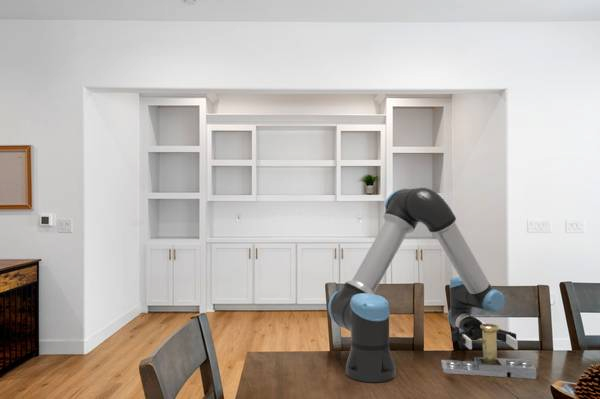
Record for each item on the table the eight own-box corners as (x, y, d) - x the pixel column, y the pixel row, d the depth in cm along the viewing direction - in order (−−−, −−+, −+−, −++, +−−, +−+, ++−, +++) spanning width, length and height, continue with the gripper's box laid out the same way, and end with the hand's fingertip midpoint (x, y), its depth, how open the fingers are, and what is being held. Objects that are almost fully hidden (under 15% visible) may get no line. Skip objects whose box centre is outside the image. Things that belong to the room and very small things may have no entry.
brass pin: (482, 373, 138) (481, 327, 138) (479, 368, 143) (478, 323, 143) (501, 375, 137) (500, 328, 137) (497, 369, 142) (496, 324, 142)
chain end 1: (443, 373, 139) (443, 365, 139) (441, 364, 147) (441, 357, 147) (506, 377, 135) (506, 369, 135) (500, 368, 143) (500, 360, 143)
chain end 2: (478, 375, 137) (478, 363, 137) (474, 366, 144) (474, 355, 145) (536, 379, 133) (536, 366, 133) (528, 369, 141) (528, 358, 141)
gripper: (506, 337, 158) (535, 357, 136) (433, 337, 159) (451, 357, 137) (506, 316, 158) (535, 332, 137) (433, 315, 159) (451, 332, 138)
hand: (493, 344), depth 137 cm, fingers open, 13 cm apart
